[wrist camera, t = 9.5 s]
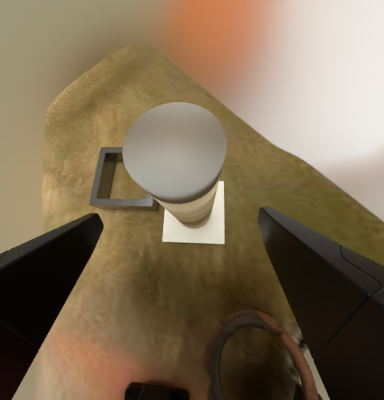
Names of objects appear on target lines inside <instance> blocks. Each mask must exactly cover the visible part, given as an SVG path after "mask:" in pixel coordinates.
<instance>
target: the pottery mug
mask: <svg viewBox="0 0 384 400" xmlns="http://www.w3.org/2000/svg"><path fill="white" fill-rule="evenodd" d="M244 327H257V328H261V329H268V330H270V331H271V332H272V333H274V334H275V335H276V336H277V337H278V339H279V341H280V342H281V343H282V345H283V346H284V347H285V348H286V350H287V351H288V353H289V354H290V356H291V357H292V359H293V361H294V363H295V365H296V368H297V370H298V373H299V376H300V380H301V384H302V385H300V384H296V389H295V396H294V399H293V400H323V399H322V398H321V396H320V395H319V394H318V393H317V389H316V386H315V381H314V379H313V375H312V372H311V370H310V367H309V365H308V363H307V361H306V359H305V357H304V355H303V353H302V352H301V351H300V349H299V347H298V346H297V344H296V343H295V342H294V341H293V340H292V339H291V337H290V336H289V335H288V334H287V333H286V332H285V331H284V330H283V329H282V328H281V327H279V326H278V324H277V321H276V320H275V319H274V318H272V317H271V316H269V315H267V314H265V313H263V312H260V311H256V310H254V309H245V310H240V311H236V312H234V313H231V314H229V315H228V316H226V317H225V318H223V319H222V320H221V325H220V326H217V327H216V328H215V329H214V331H213V333H212V335H211V338H210V340H209V343H208V346H207V348H206V350H205V352H204V354H203V357H202V363H203V365H204V367H205V369H206V371H207V372H208V373H209V375H210V380H211V383H210V385H209V386H208V392H207V396H208V400H226V397H225V395H224V392H223V388H222V384H221V378H220V359H221V353H222V350H223V347H224V345H225V343H226V341H227V339H228V338H229V337H230V336H231V335H232V334H233V333H234V332H235V331H237V330H239V329H241V328H244Z"/></svg>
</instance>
